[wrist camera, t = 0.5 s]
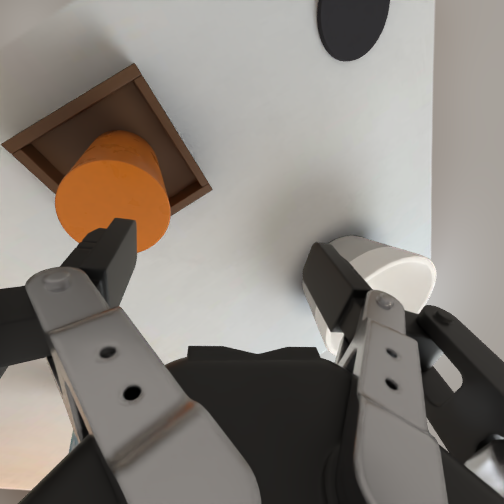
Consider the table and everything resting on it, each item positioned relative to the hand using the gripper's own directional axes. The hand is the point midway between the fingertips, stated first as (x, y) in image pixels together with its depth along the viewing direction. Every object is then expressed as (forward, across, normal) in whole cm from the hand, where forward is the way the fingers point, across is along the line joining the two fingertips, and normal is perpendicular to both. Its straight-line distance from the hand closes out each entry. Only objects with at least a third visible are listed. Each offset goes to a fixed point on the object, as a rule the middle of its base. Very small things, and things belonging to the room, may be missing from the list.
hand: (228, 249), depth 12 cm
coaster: (+22, -12, -16) cm, 29 cm away
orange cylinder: (+17, +8, +2) cm, 19 cm away
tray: (+17, +9, +2) cm, 19 cm away
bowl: (+24, -24, +16) cm, 37 cm away
